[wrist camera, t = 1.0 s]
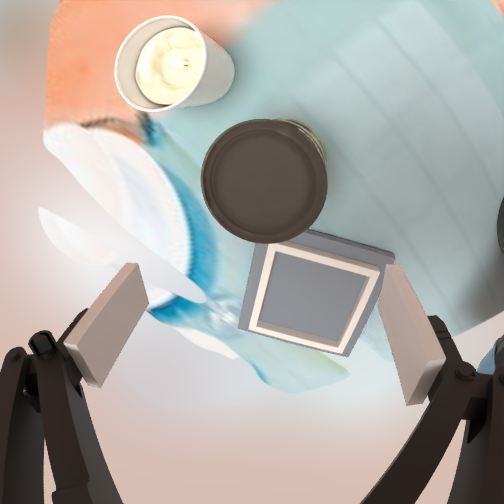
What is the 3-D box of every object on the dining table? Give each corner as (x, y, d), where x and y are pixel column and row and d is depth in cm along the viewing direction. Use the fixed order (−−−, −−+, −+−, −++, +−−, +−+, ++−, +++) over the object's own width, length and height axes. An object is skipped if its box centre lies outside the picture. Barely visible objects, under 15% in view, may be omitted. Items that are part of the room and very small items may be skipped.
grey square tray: (393, 253, 38) (397, 263, 36) (348, 350, 46) (348, 363, 44) (262, 217, 40) (258, 224, 38) (240, 322, 49) (235, 334, 46)
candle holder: (242, 35, 31) (207, 7, 20) (240, 109, 35) (205, 109, 24) (169, 43, 33) (115, 26, 22) (168, 112, 37) (113, 116, 26)
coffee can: (310, 107, 33) (303, 102, 21) (336, 188, 37) (342, 228, 24) (230, 133, 36) (182, 145, 24) (258, 208, 40) (225, 256, 28)
